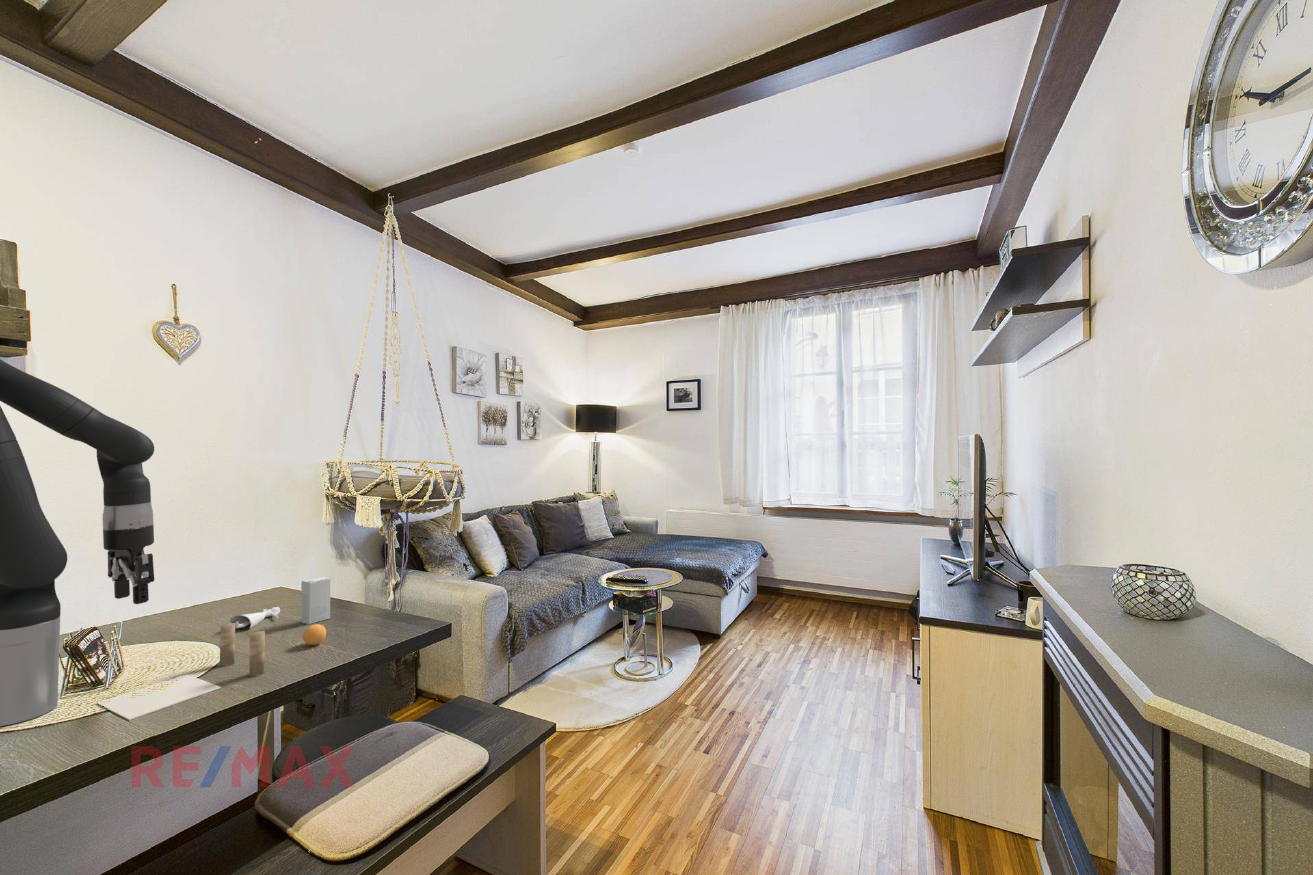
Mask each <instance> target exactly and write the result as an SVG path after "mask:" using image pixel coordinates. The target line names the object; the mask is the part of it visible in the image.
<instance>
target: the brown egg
mask: <svg viewBox="0 0 1313 875" xmlns="http://www.w3.org/2000/svg"><path fill="white" fill-rule="evenodd" d="M326 635H327V630H326V627H325V626H323V625H322V624H319V623H318V624H317V623H316V624H315V623H313V624H310V625H309V626H308V627H307V628H306V629H305V630H304V631H303V633H302V640H303V641H304V643H305V644H307V645H308V646H315V645H318V644H320V643H321V642H323V641H324V639H325V638H326Z"/></svg>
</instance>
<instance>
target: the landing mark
mask: <svg viewBox="0 0 1313 875" xmlns="http://www.w3.org/2000/svg"><path fill="white" fill-rule="evenodd" d="M184 675H185V676H184ZM184 675H180V676H176V677H174V678H175V679H173V678H170V679H169V680H171V679H172V680H178V681H167V680H165V681H163V682H166V683H163V684H174V685H171V686H172V687H167V689H165V690H157V691H159V692H156V690H149V689H144V690H139V689H136V691H142V692H133V693H142V694H136V695H142V696H132V691H129V692H126V693H123V694H121V695H120V694H119V695H117V696H113V697H111V698H108V699H105V700H103V701H105V702H103V703H98V702H97V703H98V704H101V706H100V707H102V706H104V707H105V708H104V707H103V708H104V709H106V708H107V710H109V711H111V712H112V713H114V714H116V715H117V716H120V717H122V718H124V719H126V720H128V721H132V720H135V719H137V718H141V717H143V716H145V715H149V714H153V713H154V712H157V711H160V710H164V709H166V708H169V707H172V706H174V705H175V706H176V705H177V704H181V703H184V702H186V701H188V700H192V699H194V698H198V697H200V696H203V695H206V694H209V693H212V692H215V691H217V690H220V689H222V687H221V686H219V685H216V684H214V683H211V682H209V681H206V680H204V679H200V678H198V677H195V676H192V675H190V674H184ZM176 678H178V679H176ZM167 682H168V683H167ZM169 682H174V683H169ZM176 682H177V683H176ZM159 683H160V684H161V682H159ZM150 686H154V684H152V685H150ZM155 686H156V685H155ZM157 686H158V685H157ZM160 686H161V685H160ZM163 686H165V685H163ZM166 686H167V685H166ZM145 687H146V688H154V687H148V686H145ZM155 688H156V687H155ZM164 688H165V687H164ZM145 691H146V692H145ZM148 691H155V692H153V693H152V692H148ZM130 693H131V694H130ZM143 693H151V694H143ZM154 693H155V694H154ZM134 695H135V694H134ZM143 695H145V696H143ZM122 697H123V698H122ZM130 697H136V698H130ZM122 699H123V700H122ZM131 699H133V700H131ZM106 701H108V702H106ZM109 701H110V702H109ZM98 704H97V705H98Z"/></svg>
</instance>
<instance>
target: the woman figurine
mask: <svg viewBox="0 0 1313 875" xmlns="http://www.w3.org/2000/svg"><path fill="white" fill-rule="evenodd" d="M280 612H281V608H280V607H279V606H278V605H274V606H272V607H271V608H268V609H266V608H263V609H262V611H260V612H259V611H258V612H253V613H245V614H239V615H234V616H233V617H231V618H230V619H229V620H228V621H227V623H235V630H236V629H241V628H245V627H246V626H249V625H250V626H249V630H251V629H252V628H253V627H255V626H257V625H259V624H260V623H261V622H262V621H264V619H265V618H269V617H274V618H276V619H277V620H278V619H279V614H280Z"/></svg>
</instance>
